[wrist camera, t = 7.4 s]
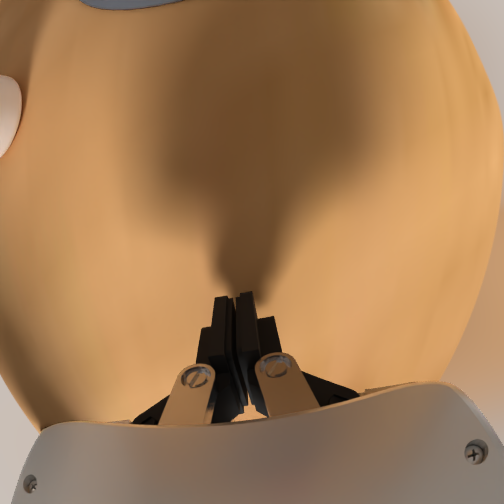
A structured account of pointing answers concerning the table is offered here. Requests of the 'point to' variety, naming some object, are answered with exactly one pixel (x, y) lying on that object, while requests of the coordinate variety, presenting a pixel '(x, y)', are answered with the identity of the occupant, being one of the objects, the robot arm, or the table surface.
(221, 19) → the table surface
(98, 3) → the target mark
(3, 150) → the drinking glass
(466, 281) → the table surface
